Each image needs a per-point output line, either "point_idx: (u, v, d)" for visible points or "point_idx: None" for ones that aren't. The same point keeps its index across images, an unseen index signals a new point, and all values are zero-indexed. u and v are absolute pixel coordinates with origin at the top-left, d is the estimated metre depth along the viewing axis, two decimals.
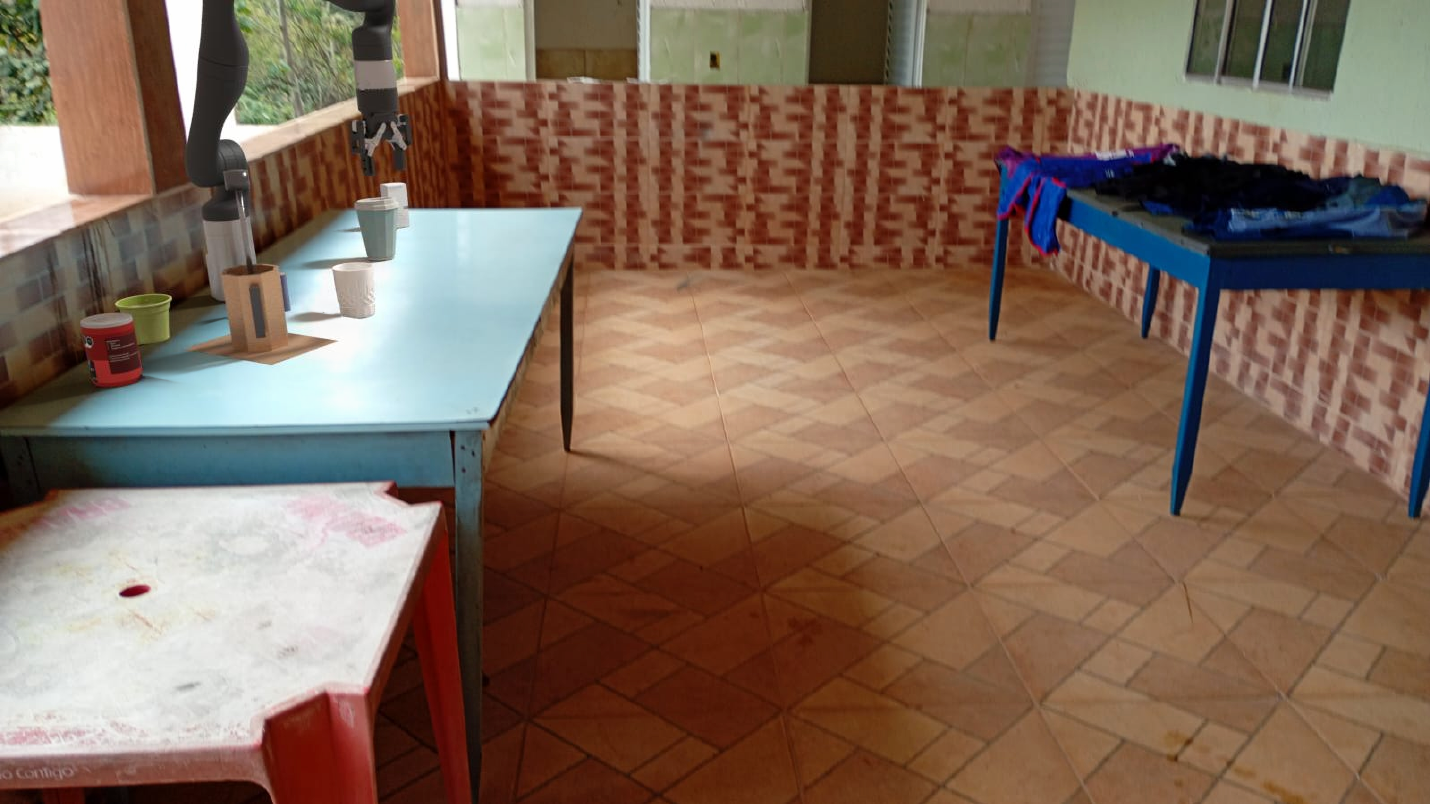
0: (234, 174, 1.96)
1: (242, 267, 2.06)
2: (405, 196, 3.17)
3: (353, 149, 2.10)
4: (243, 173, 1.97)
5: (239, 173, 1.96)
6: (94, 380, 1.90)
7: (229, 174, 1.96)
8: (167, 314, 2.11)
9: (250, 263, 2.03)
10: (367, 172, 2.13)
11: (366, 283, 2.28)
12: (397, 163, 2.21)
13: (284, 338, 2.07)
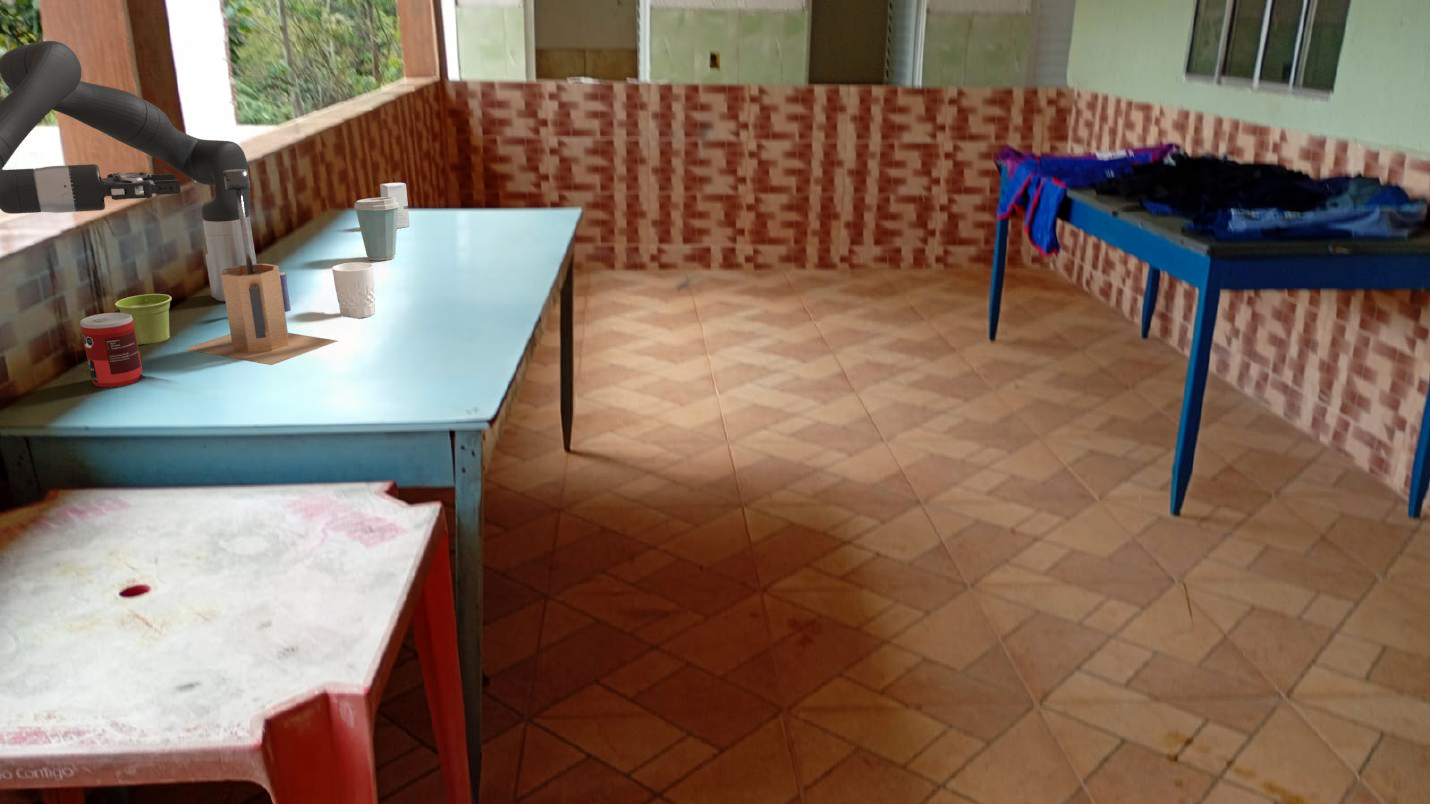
0: (234, 174, 1.96)
1: (242, 267, 2.06)
2: (405, 196, 3.17)
3: None
4: (243, 173, 1.97)
5: (239, 173, 1.96)
6: (94, 380, 1.90)
7: (229, 174, 1.96)
8: (167, 314, 2.11)
9: (250, 263, 2.03)
10: None
11: (366, 283, 2.28)
12: None
13: (284, 338, 2.07)
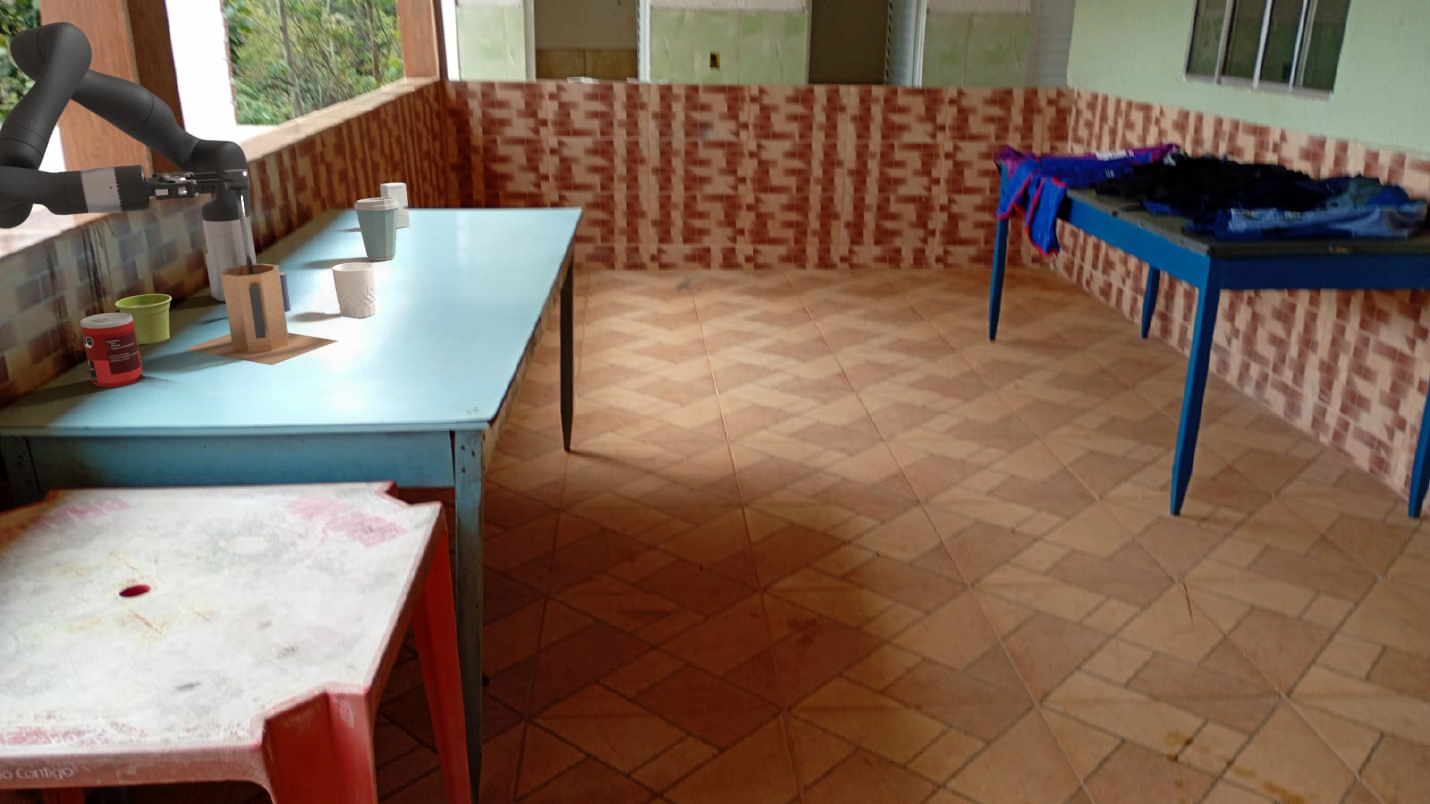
0: (234, 174, 1.96)
1: (242, 267, 2.06)
2: (405, 196, 3.17)
3: None
4: (243, 173, 1.97)
5: (239, 173, 1.96)
6: (94, 380, 1.90)
7: (229, 174, 1.96)
8: (167, 314, 2.11)
9: (250, 263, 2.03)
10: None
11: (366, 283, 2.28)
12: None
13: (284, 338, 2.07)
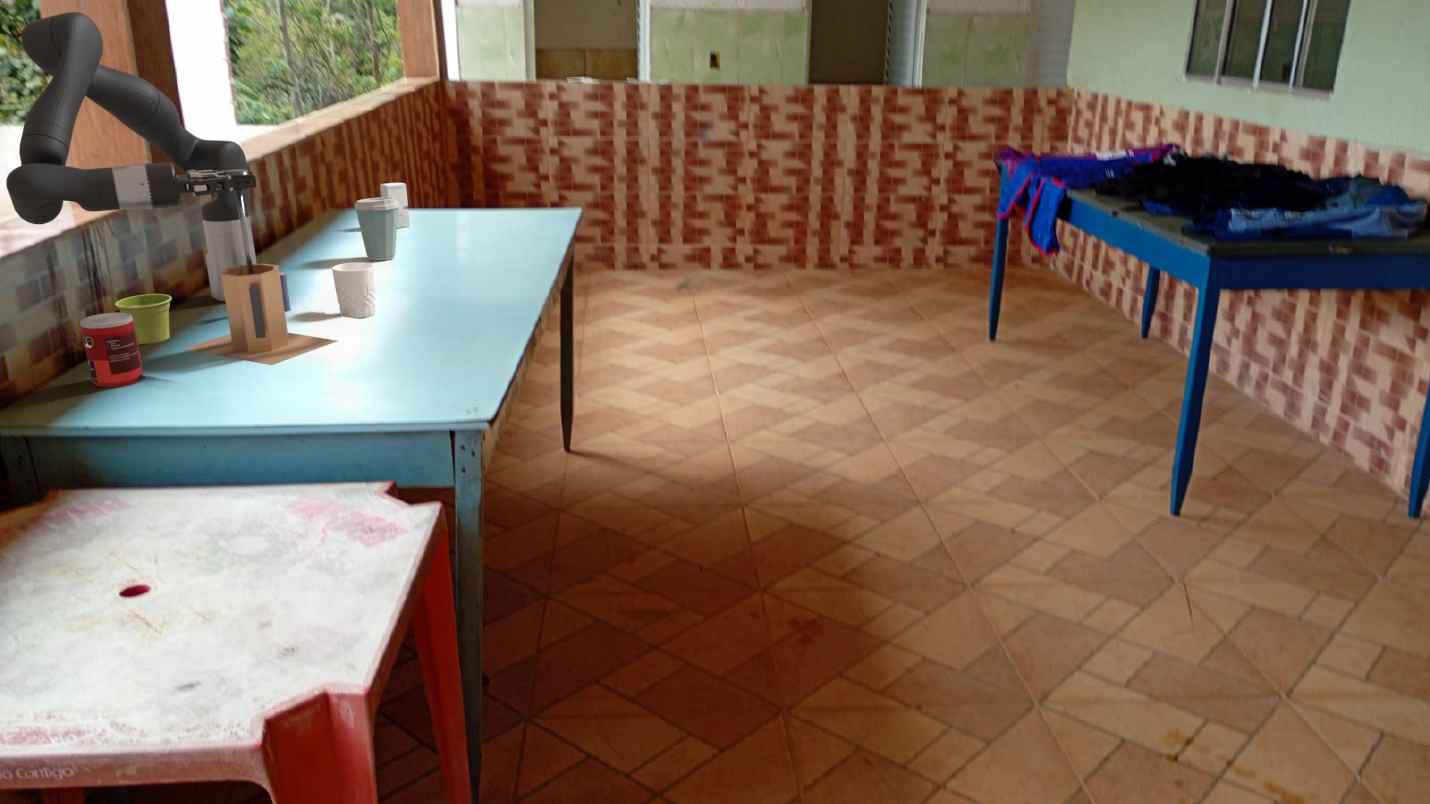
0: (234, 174, 1.96)
1: (242, 267, 2.06)
2: (405, 196, 3.17)
3: None
4: (243, 173, 1.97)
5: (239, 173, 1.96)
6: (94, 380, 1.90)
7: (229, 174, 1.96)
8: (167, 314, 2.11)
9: (250, 263, 2.03)
10: None
11: (366, 283, 2.28)
12: None
13: (284, 338, 2.07)
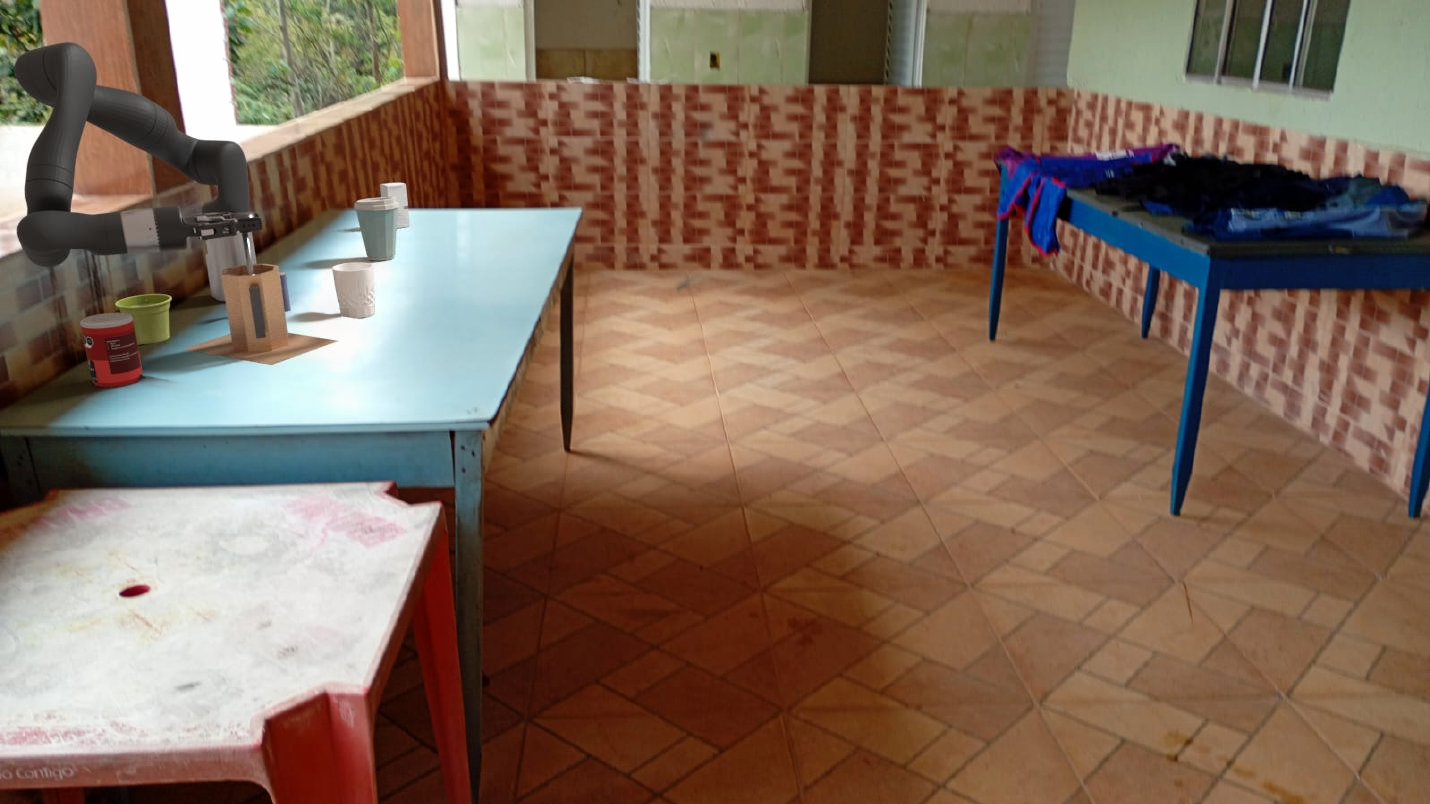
0: (240, 217, 1.98)
1: (242, 267, 2.06)
2: (405, 196, 3.17)
3: None
4: (249, 216, 1.99)
5: (245, 216, 1.99)
6: (94, 380, 1.90)
7: (235, 217, 1.98)
8: (167, 314, 2.11)
9: None
10: None
11: (366, 283, 2.28)
12: None
13: (284, 338, 2.07)
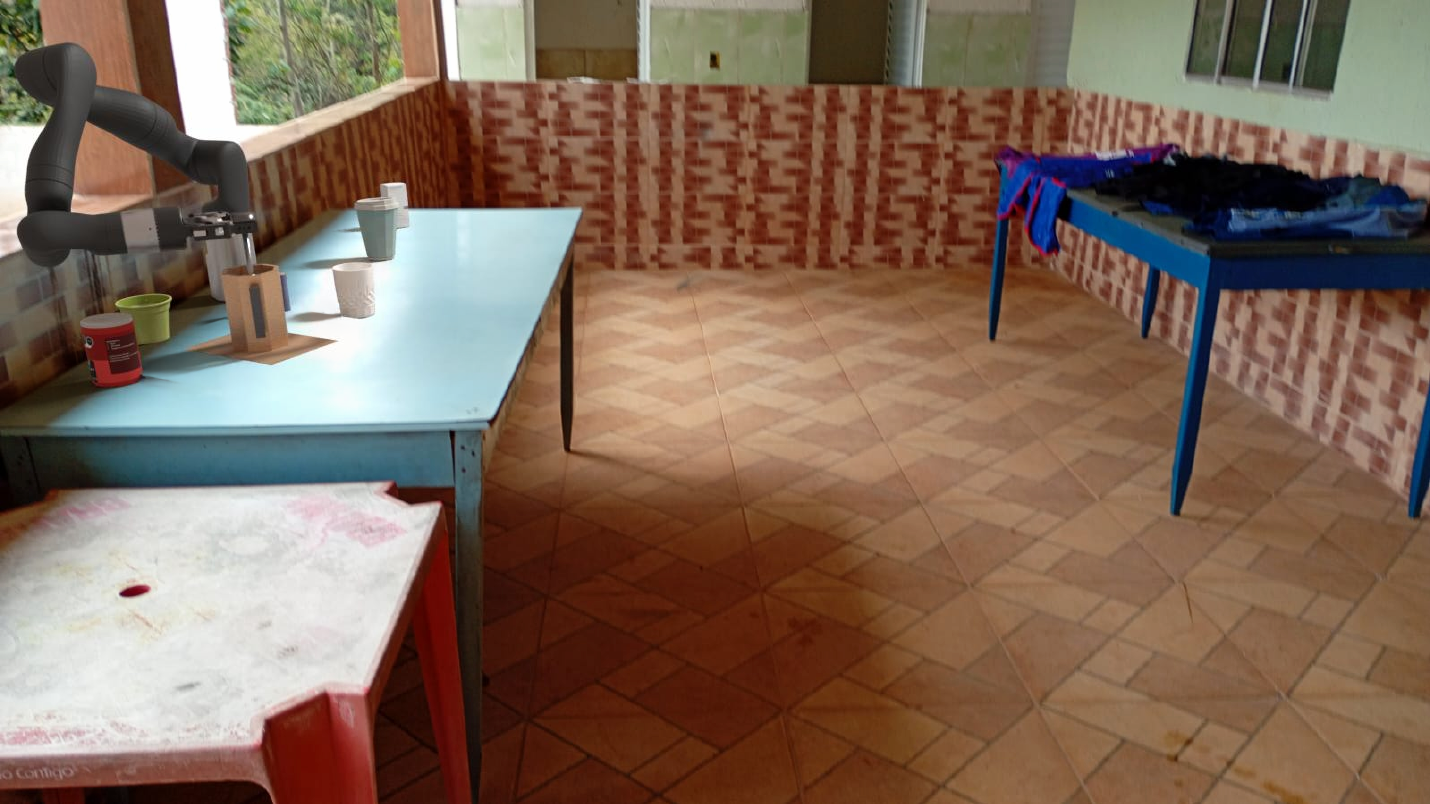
0: (240, 217, 1.98)
1: (242, 267, 2.06)
2: (405, 196, 3.17)
3: None
4: (249, 216, 1.99)
5: (245, 216, 1.99)
6: (94, 380, 1.90)
7: (235, 217, 1.98)
8: (167, 314, 2.11)
9: None
10: None
11: (366, 283, 2.28)
12: None
13: (284, 338, 2.07)
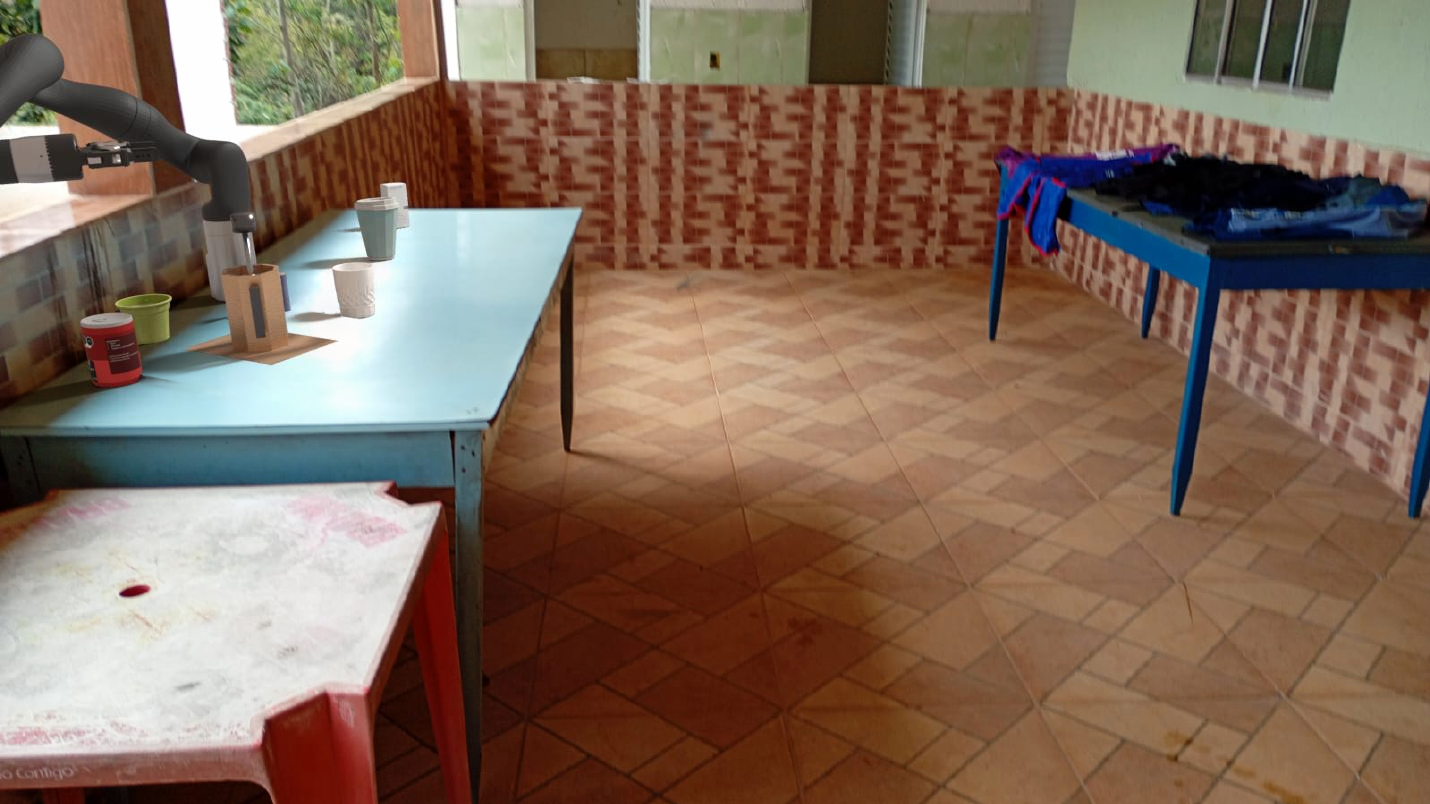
0: (240, 217, 1.98)
1: (242, 267, 2.06)
2: (405, 196, 3.17)
3: None
4: (249, 216, 1.99)
5: (245, 216, 1.99)
6: (94, 380, 1.90)
7: (235, 217, 1.98)
8: (167, 314, 2.11)
9: None
10: None
11: (366, 283, 2.28)
12: None
13: (284, 338, 2.07)
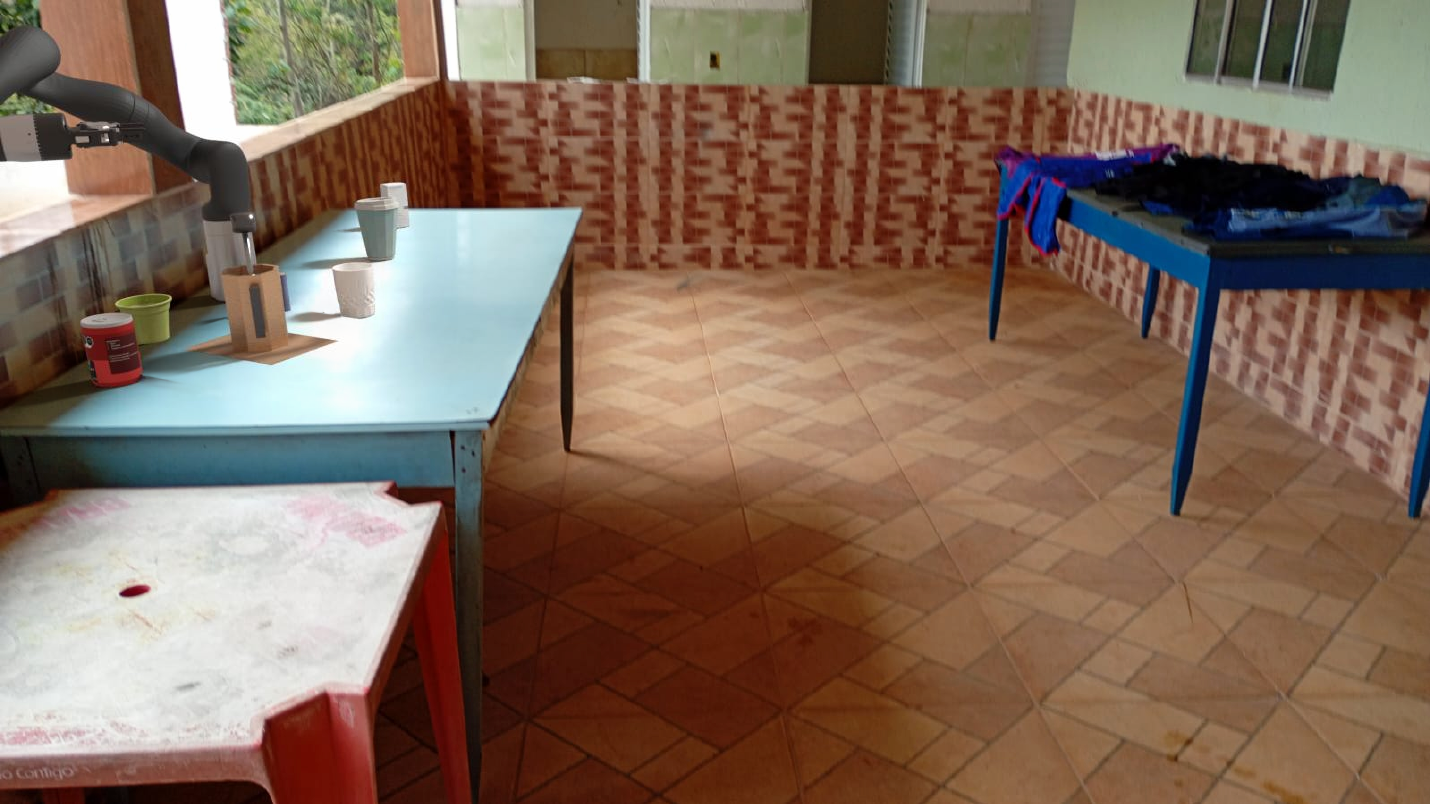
0: (240, 217, 1.98)
1: (242, 267, 2.06)
2: (405, 196, 3.17)
3: None
4: (249, 216, 1.99)
5: (245, 216, 1.99)
6: (94, 380, 1.90)
7: (235, 217, 1.98)
8: (167, 314, 2.11)
9: None
10: None
11: (366, 283, 2.28)
12: None
13: (284, 338, 2.07)
